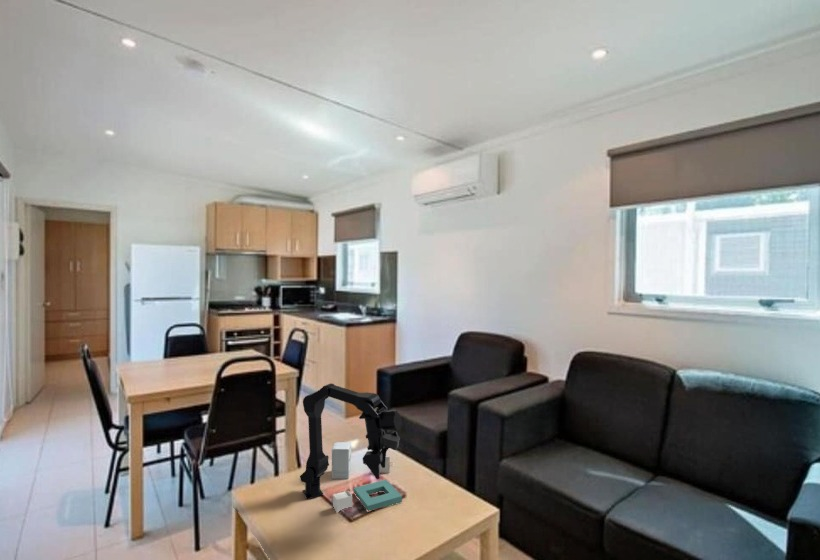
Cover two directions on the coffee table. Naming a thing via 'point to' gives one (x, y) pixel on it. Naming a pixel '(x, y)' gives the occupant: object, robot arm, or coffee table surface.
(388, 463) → the architectural model
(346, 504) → the plug
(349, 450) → the supplement box
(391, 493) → the socket board
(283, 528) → the coffee table surface
